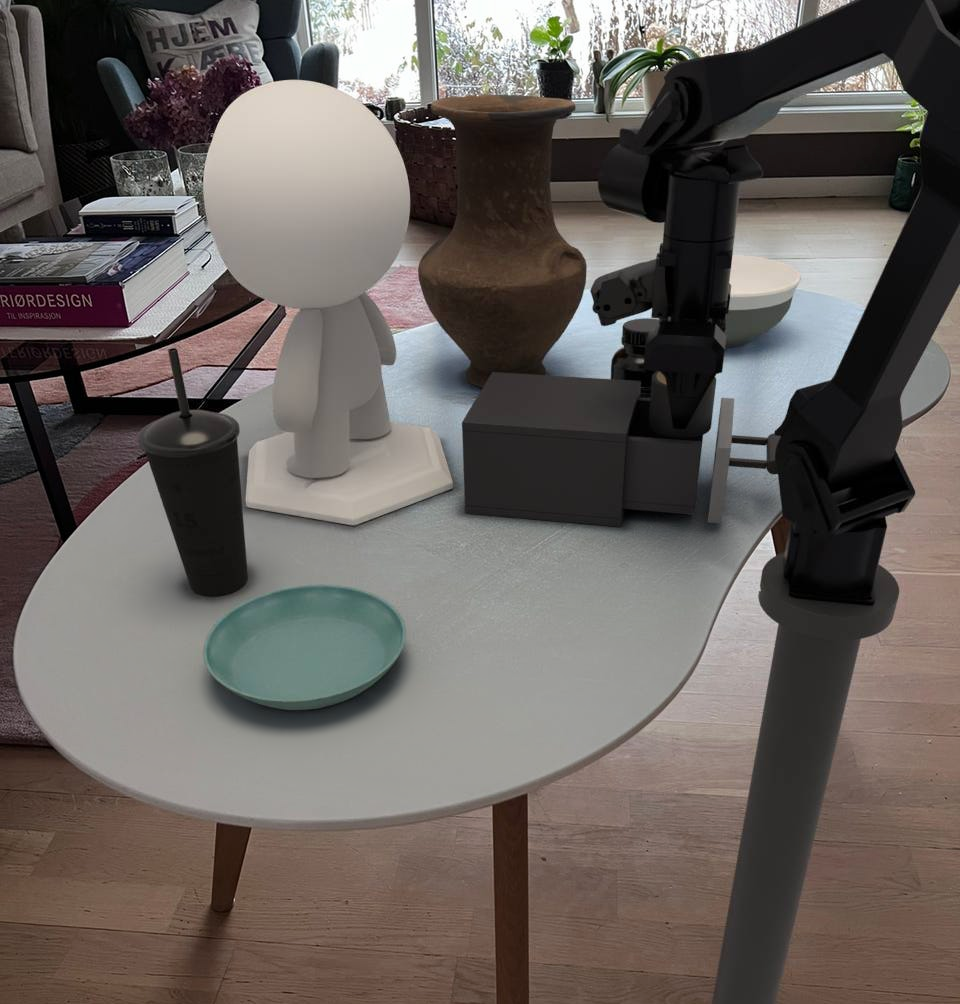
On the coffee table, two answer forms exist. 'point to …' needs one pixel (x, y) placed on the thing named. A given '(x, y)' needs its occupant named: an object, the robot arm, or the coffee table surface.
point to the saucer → (305, 646)
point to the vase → (503, 239)
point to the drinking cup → (200, 490)
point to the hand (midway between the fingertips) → (681, 415)
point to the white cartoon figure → (321, 296)
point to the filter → (662, 414)
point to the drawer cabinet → (548, 448)
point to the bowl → (757, 297)
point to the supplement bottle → (634, 354)
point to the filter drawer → (683, 464)
